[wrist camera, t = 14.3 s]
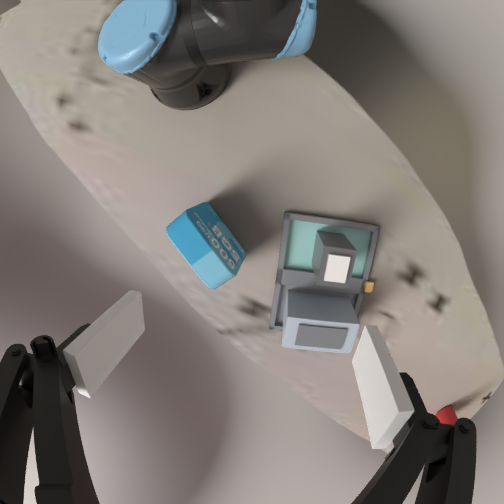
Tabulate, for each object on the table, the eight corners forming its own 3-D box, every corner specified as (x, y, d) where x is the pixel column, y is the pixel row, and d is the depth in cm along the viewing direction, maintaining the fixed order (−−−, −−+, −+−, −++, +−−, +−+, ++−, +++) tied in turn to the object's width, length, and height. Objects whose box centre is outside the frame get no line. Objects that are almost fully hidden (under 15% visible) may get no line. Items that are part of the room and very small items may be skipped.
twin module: (287, 289, 51) (287, 318, 41) (348, 297, 50) (360, 325, 40) (283, 317, 53) (281, 348, 43) (341, 323, 52) (350, 354, 42)
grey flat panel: (284, 211, 47) (284, 212, 46) (384, 226, 46) (386, 228, 44) (269, 325, 54) (268, 329, 53) (356, 334, 53) (357, 338, 51)
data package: (247, 253, 50) (235, 278, 39) (228, 266, 52) (211, 293, 40) (207, 200, 48) (183, 210, 37) (189, 215, 50) (161, 229, 38)
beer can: (431, 419, 59) (441, 446, 48) (440, 406, 57) (452, 433, 46) (445, 417, 59) (456, 442, 47) (455, 403, 57) (467, 429, 45)
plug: (316, 230, 47) (324, 246, 37) (343, 234, 47) (357, 251, 37) (311, 262, 49) (316, 286, 39) (337, 265, 49) (349, 289, 39)
